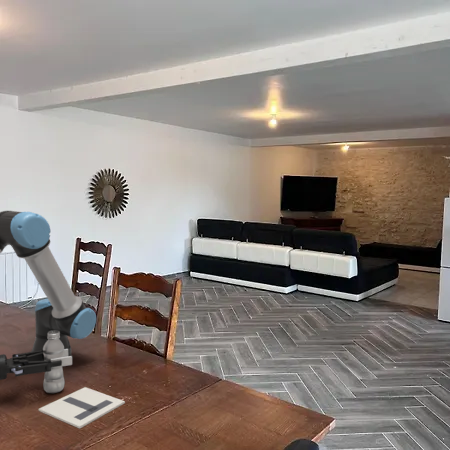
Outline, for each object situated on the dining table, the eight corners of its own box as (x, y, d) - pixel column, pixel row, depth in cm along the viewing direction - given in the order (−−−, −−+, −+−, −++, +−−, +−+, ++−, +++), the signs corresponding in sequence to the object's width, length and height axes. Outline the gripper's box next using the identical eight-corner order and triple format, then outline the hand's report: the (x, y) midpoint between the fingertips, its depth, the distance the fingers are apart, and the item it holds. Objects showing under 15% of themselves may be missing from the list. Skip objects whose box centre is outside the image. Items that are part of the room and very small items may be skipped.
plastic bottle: (57, 396, 143) (57, 336, 142) (38, 394, 145) (38, 334, 143) (68, 388, 150) (68, 330, 148) (50, 386, 151) (50, 328, 149)
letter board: (85, 388, 150) (85, 387, 150) (124, 403, 140) (124, 401, 140) (38, 410, 134) (38, 408, 134) (79, 428, 125) (79, 426, 125)
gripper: (-9, 368, 146) (64, 357, 157) (-7, 392, 129) (75, 378, 141) (-9, 346, 146) (64, 336, 157) (-7, 367, 129) (75, 355, 140)
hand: (69, 356), depth 149 cm, fingers open, 6 cm apart
